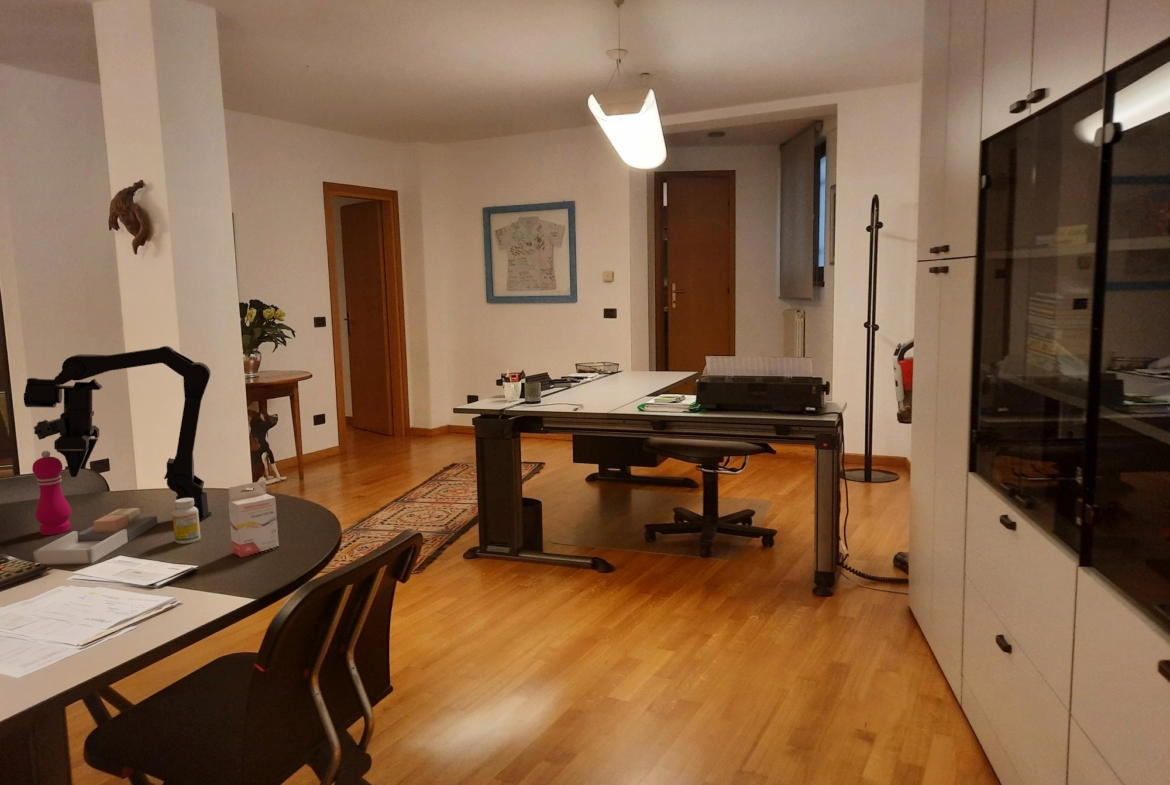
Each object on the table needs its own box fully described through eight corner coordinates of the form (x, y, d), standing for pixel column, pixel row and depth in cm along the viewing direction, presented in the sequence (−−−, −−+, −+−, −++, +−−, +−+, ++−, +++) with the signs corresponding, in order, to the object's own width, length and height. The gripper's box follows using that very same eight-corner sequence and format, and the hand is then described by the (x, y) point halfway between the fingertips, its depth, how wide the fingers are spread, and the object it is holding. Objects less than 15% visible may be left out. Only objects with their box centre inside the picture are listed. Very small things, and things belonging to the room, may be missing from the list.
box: (127, 541, 183) (126, 529, 183) (92, 563, 169) (90, 549, 169) (75, 543, 183) (73, 531, 182) (35, 565, 169) (33, 551, 169)
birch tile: (140, 518, 195) (139, 508, 195) (129, 524, 190) (128, 514, 190) (119, 518, 195) (118, 508, 195) (108, 524, 190) (107, 514, 190)
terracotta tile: (128, 524, 190) (127, 514, 189) (116, 531, 185) (115, 520, 184) (107, 525, 190) (105, 515, 189) (94, 532, 185) (93, 521, 184)
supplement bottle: (194, 543, 180) (190, 502, 179) (170, 544, 180) (166, 503, 179) (205, 536, 186) (201, 496, 184) (181, 537, 185) (177, 497, 184)
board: (157, 524, 196) (156, 516, 196) (129, 541, 184) (128, 532, 183) (108, 525, 196) (107, 518, 196) (76, 543, 183) (75, 534, 183)
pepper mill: (55, 536, 189) (45, 454, 186) (30, 535, 190) (19, 453, 187) (80, 527, 196) (70, 447, 193) (55, 525, 197) (45, 447, 194)
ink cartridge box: (241, 558, 170) (234, 491, 168) (232, 553, 173) (225, 487, 171) (280, 548, 176) (274, 483, 174) (270, 543, 179) (265, 479, 177)
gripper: (46, 402, 193) (46, 465, 195) (27, 413, 176) (27, 482, 178) (100, 403, 198) (99, 464, 199) (85, 413, 181) (85, 481, 182)
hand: (77, 472), depth 190 cm, fingers open, 9 cm apart
